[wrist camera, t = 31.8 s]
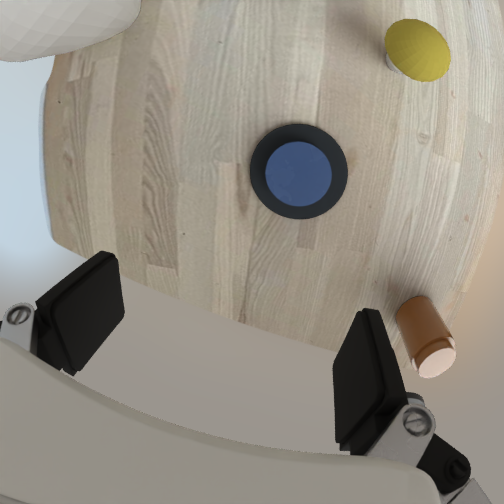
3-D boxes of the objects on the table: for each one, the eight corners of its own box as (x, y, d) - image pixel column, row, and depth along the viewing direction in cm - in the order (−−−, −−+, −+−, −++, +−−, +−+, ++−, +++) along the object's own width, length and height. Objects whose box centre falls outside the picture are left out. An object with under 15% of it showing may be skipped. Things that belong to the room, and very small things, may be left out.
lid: (272, 135, 28) (271, 135, 26) (335, 148, 27) (338, 150, 25) (262, 195, 31) (260, 199, 29) (322, 207, 30) (323, 212, 28)
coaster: (335, 226, 31) (335, 227, 31) (244, 208, 32) (243, 209, 32) (355, 136, 27) (356, 136, 26) (257, 116, 27) (257, 116, 27)
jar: (421, 331, 36) (442, 380, 27) (388, 328, 37) (405, 380, 27) (439, 298, 33) (467, 345, 24) (406, 293, 34) (431, 343, 24)
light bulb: (404, 34, 19) (439, 7, 11) (428, 83, 22) (473, 72, 13) (358, 44, 22) (382, 13, 13) (384, 95, 24) (421, 83, 15)
